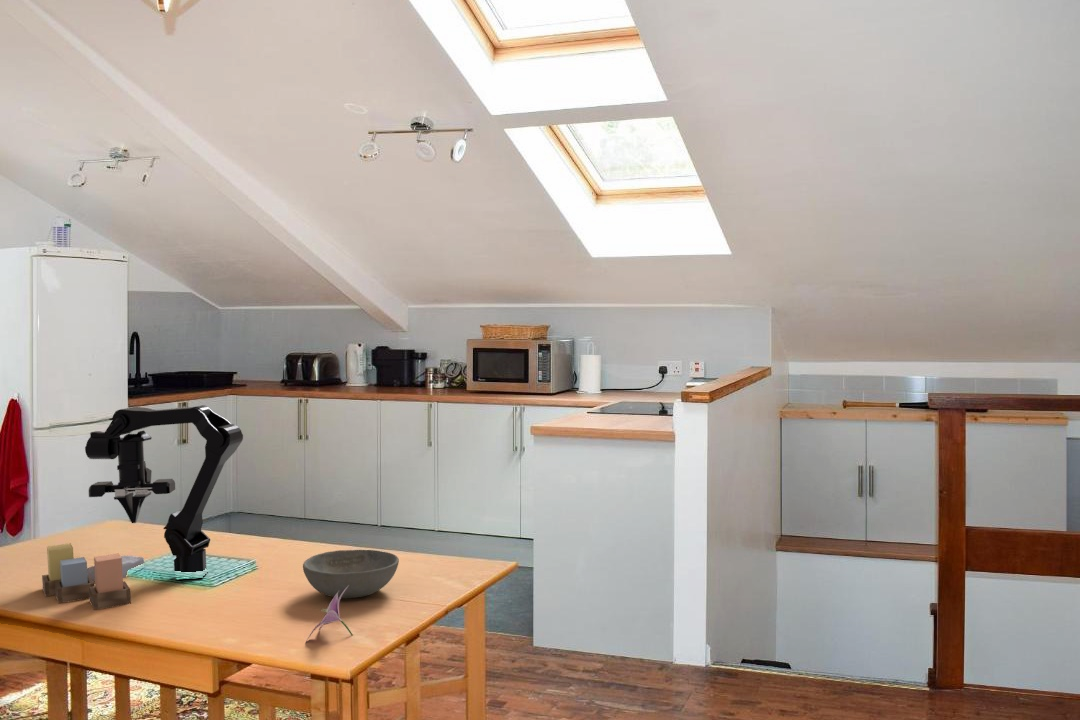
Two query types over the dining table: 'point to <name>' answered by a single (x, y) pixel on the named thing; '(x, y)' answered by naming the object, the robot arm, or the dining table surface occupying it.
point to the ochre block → (57, 559)
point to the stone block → (127, 564)
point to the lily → (332, 613)
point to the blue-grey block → (73, 572)
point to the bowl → (350, 572)
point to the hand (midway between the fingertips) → (134, 522)
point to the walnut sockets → (86, 593)
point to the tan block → (108, 573)
